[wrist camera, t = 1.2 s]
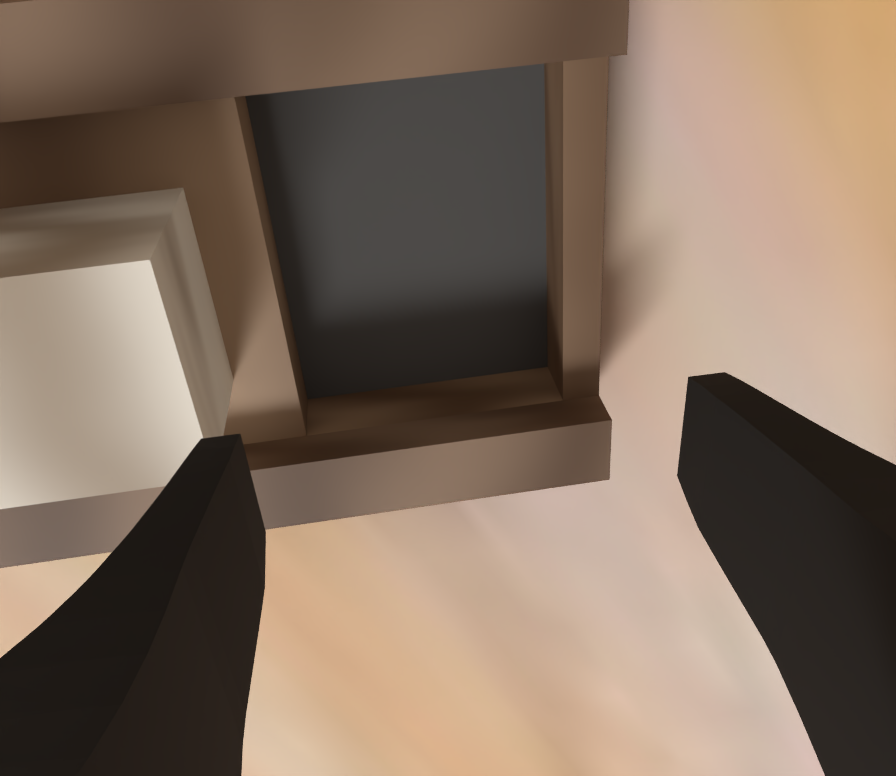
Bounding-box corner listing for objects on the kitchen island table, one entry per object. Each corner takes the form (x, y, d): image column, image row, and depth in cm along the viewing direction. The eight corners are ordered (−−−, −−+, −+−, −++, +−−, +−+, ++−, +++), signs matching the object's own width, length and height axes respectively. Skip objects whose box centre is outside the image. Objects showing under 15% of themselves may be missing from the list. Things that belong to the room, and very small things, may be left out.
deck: (-309, 538, 23) (-393, 625, 20) (-693, 57, 16) (-897, 92, 13) (578, 414, 25) (609, 479, 22) (584, -68, 18) (631, -59, 15)
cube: (30, 406, 20) (-29, 513, 17) (-53, 214, 17) (-144, 295, 14) (233, 380, 20) (215, 479, 17) (183, 187, 18) (149, 259, 14)
